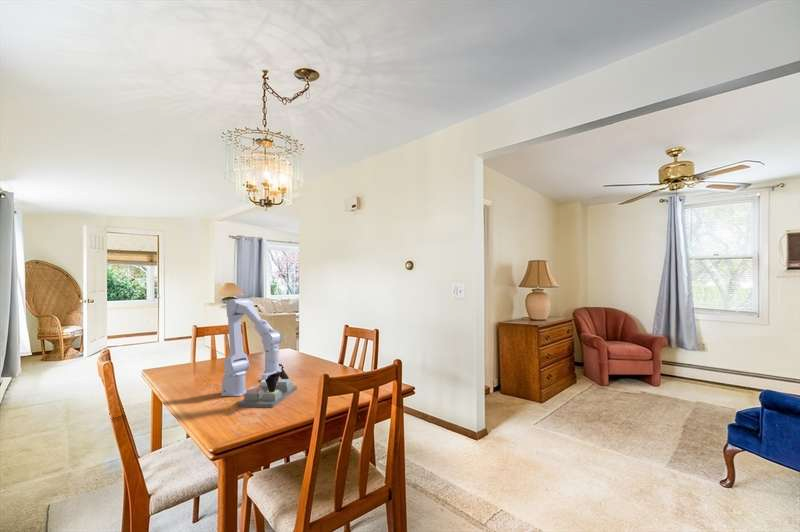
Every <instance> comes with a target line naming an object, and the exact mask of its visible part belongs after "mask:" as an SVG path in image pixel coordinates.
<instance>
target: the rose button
mask: <svg viewBox="0 0 800 532" xmlns="http://www.w3.org/2000/svg"><path fill="white" fill-rule="evenodd" d="M258 386H259V385H258ZM258 386H249V388H247V389H246V390H247V394H254V395H257V394H259V393H260V392H262V387H258Z"/></svg>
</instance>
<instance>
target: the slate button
mask: <svg viewBox="0 0 800 532" xmlns="http://www.w3.org/2000/svg"><path fill="white" fill-rule="evenodd" d="M291 383H292V379H291V378H288V379H281V378H280V379H278V381H277V386H283V387H287V386H289V385H290V384H291Z"/></svg>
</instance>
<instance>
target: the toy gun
mask: <svg viewBox="0 0 800 532" xmlns="http://www.w3.org/2000/svg"><path fill="white" fill-rule="evenodd" d="M279 366H281V372H278V373H279V374H280V377H279V379H280V380H281V379H290V378H289V376H288V374H287V373H286V371H285V369H284V368H285V367H284V365H283V364H282V363H279ZM262 380H264V379H262Z"/></svg>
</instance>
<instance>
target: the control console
mask: <svg viewBox="0 0 800 532" xmlns="http://www.w3.org/2000/svg"><path fill="white" fill-rule="evenodd" d="M258 387H262V392H260V393H259V394H257V395H254V394H247V393H245V394H243V395H244V396H243V399H242V400H240V401H239V402H238V407H242V408H243V407H246V408H247V407H249V408H274V407H276V406H277V405H278V404H279V403H281V402H282V401H283V400H285V399H286V398H288V396H290V395H291V394H292V393H293V392H295V391H296V390H298V385H294V382H291V384H290V385H289V386H287V387H283V386H277V384H276V389H275V390H279V393H277V394H276V395H264V393H265V392H266V391H268V386H261V384H259V385H258Z"/></svg>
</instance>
